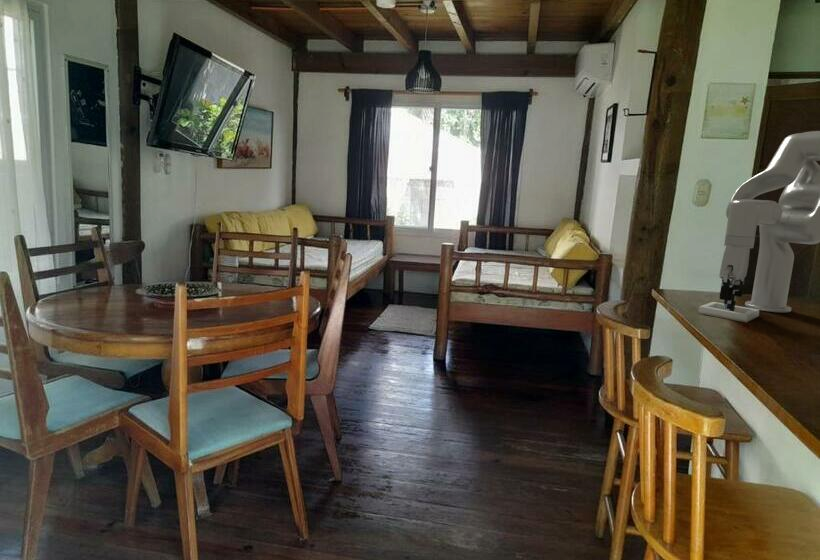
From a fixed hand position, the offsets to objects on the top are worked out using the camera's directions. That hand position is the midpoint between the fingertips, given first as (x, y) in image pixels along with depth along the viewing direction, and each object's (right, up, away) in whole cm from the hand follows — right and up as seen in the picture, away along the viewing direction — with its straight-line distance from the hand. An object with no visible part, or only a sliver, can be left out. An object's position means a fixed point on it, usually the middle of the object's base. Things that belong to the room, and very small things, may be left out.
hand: (730, 297), depth 160 cm
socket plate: (0, -5, +1) cm, 5 cm away
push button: (-1, -5, 0) cm, 5 cm away
